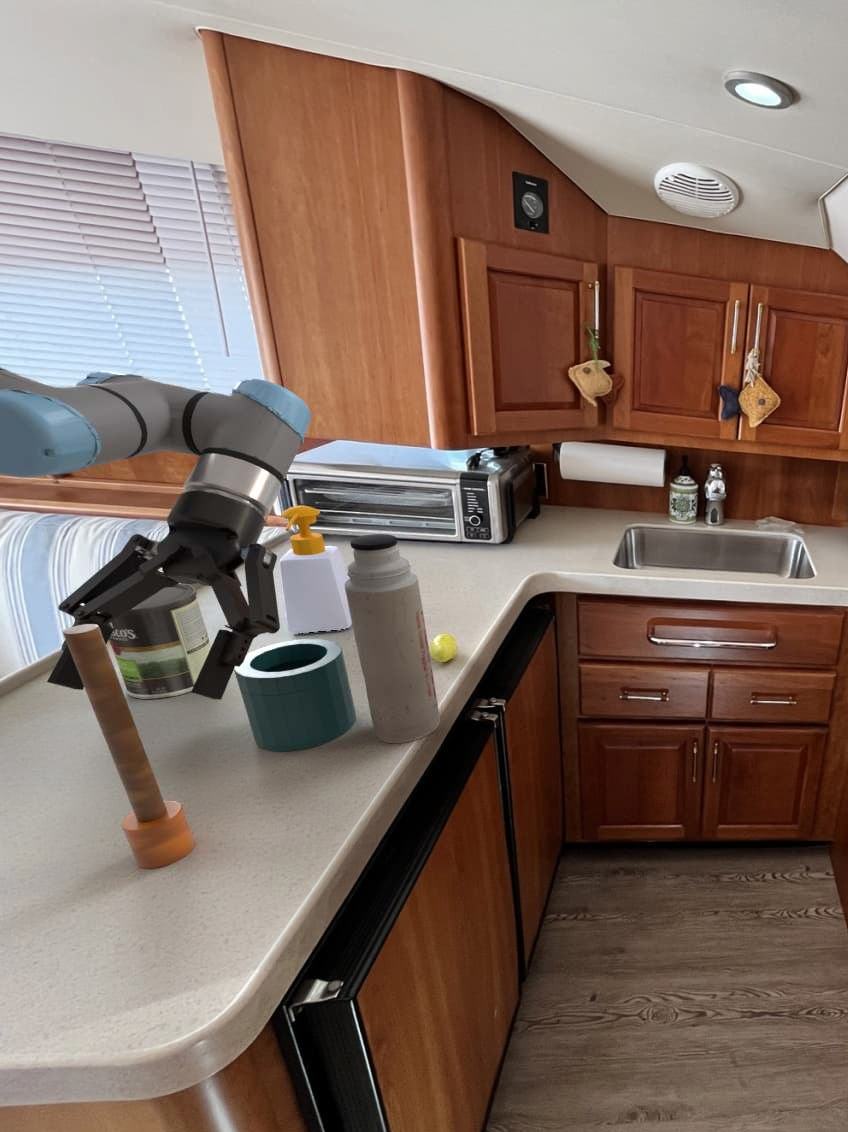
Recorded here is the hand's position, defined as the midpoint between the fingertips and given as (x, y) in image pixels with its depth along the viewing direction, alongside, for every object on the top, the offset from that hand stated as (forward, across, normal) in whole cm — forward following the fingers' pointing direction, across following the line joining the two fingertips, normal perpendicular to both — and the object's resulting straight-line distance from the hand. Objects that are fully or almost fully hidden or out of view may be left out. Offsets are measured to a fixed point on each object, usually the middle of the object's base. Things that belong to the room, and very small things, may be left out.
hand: (135, 691), depth 62 cm
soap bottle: (-23, +20, -48) cm, 57 cm away
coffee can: (-8, +28, -34) cm, 45 cm away
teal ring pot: (-2, +2, -27) cm, 27 cm away
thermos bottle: (-3, -11, -29) cm, 31 cm away
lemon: (-18, -6, -43) cm, 47 cm away
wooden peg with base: (+14, 0, -11) cm, 18 cm away
